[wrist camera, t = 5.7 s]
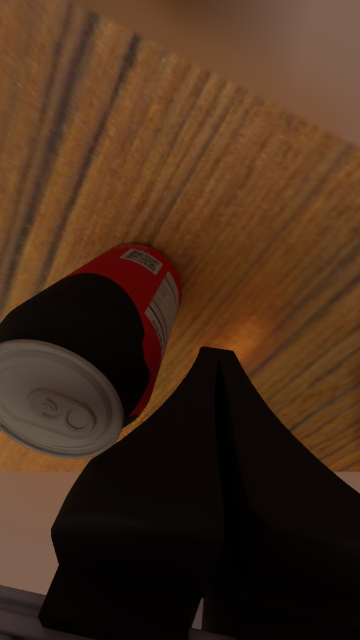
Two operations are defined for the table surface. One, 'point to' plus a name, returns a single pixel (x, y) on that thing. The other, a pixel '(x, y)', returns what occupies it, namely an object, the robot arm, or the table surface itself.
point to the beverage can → (87, 352)
